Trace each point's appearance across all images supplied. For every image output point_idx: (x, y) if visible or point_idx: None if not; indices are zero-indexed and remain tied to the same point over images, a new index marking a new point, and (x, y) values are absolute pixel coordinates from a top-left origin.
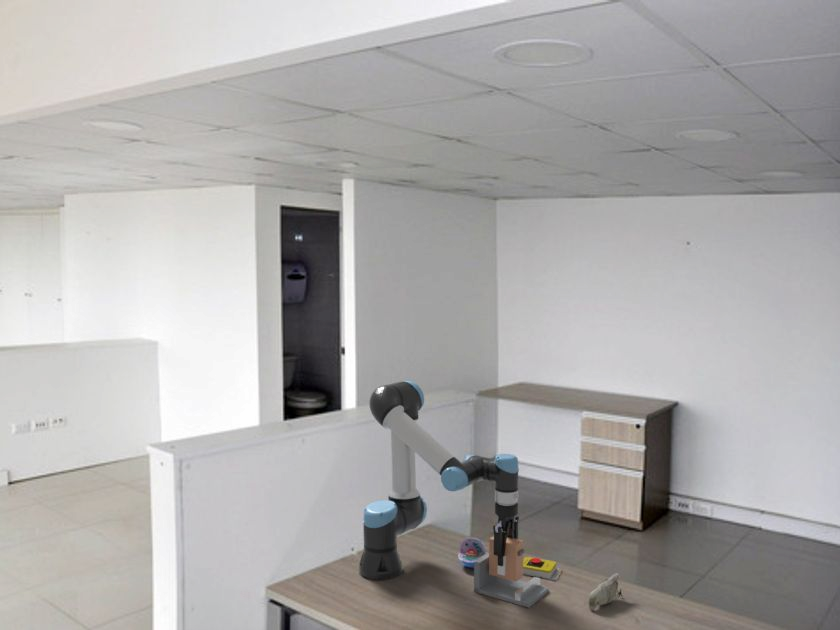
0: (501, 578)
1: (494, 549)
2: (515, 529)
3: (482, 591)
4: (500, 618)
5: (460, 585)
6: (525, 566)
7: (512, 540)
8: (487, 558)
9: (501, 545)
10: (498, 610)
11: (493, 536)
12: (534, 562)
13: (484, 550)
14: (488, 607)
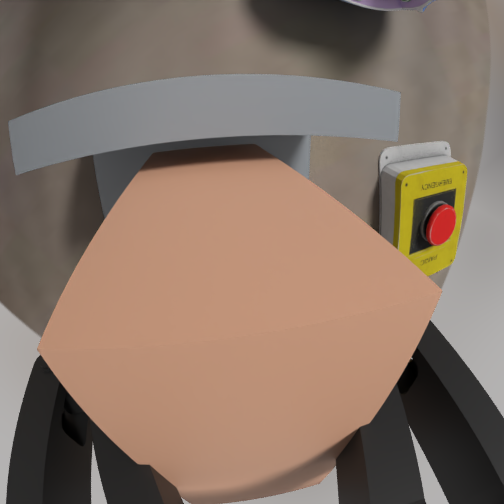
0: (271, 150)
1: (29, 406)
2: (442, 471)
3: (95, 156)
4: (33, 313)
5: (109, 24)
6: (404, 203)
7: (277, 481)
8: (153, 143)
9: (79, 482)
10: (54, 285)
11: (268, 343)
12: (428, 232)
13: (418, 1)
14: (40, 249)
